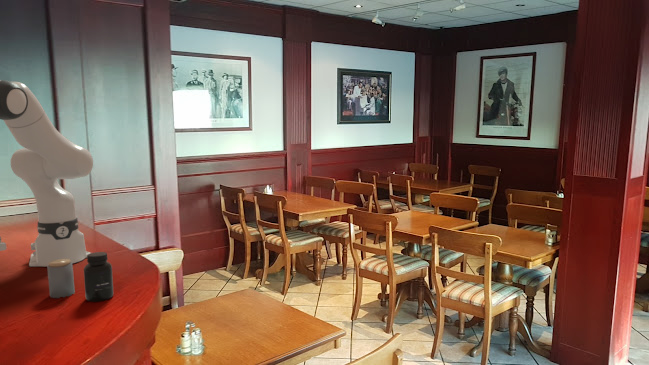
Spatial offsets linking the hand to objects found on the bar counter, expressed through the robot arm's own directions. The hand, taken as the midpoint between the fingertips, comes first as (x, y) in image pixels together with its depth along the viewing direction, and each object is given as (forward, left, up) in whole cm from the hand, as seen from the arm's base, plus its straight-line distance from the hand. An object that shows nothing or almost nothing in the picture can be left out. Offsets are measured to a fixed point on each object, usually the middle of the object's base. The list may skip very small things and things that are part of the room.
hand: (3, 242), depth 122 cm
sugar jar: (0, +12, -17) cm, 21 cm away
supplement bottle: (+10, +19, -17) cm, 27 cm away
